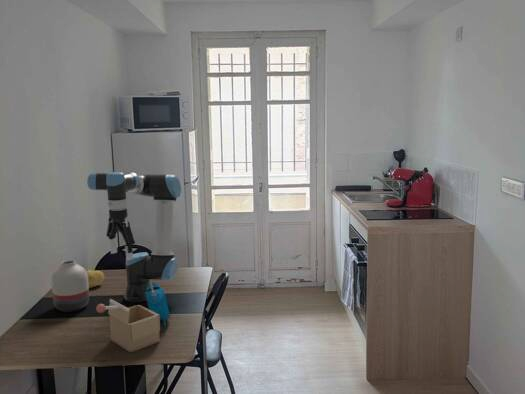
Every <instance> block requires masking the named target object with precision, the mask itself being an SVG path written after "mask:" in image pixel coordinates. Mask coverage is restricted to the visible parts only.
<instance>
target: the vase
mask: <svg viewBox="0 0 525 394" xmlns="http://www.w3.org/2000/svg"><path fill="white" fill-rule="evenodd" d="M86 271H87V270H86V269H85V268H84V267H83V266H81V265H80V264H78V263H76V260H74V259H73V260H72V259H68V260H64V261H62V262H61V264H60V265H59V267H57V268H56V269H54V271H53V273H52V274H51V290H52V291H51V294H52V302H53V305H54V307H55V309H56V310H57V311H59V312H63V313H65V312H66V313H71V312H77V311H80V310H83V309H84V308H86V306H87V305H88V304H89V301H90V290H89V289H90V288H89V286H88V275H87V272H86Z"/></svg>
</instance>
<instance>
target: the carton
mask: <svg viewBox="0 0 525 394" xmlns="http://www.w3.org/2000/svg"><path fill="white" fill-rule="evenodd" d="M128 308H129V309H130V314H129V321H128V324H125V323H123V322H122V321H120V320H118V319H116V318H115V317H113V316H111V315H110V314H108V315H109V329H110V341H111V340H112V342H113V343H114V344H116V345H118V346H119V347H121V348H122V349H124V351H126V352H128V353H133V352H136V351H139V350H142V349H143V348H147V347H149V346H152V345H154V344H157V343H159V342H160V340H161V339H160V331H161V322H160V321H161V320H160V317H159V314H157V313H155V312H153V311H151V310H149V308H147V307H145V306H143V305H141V304H137V305H133V306H130V307H129V306H128Z"/></svg>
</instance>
